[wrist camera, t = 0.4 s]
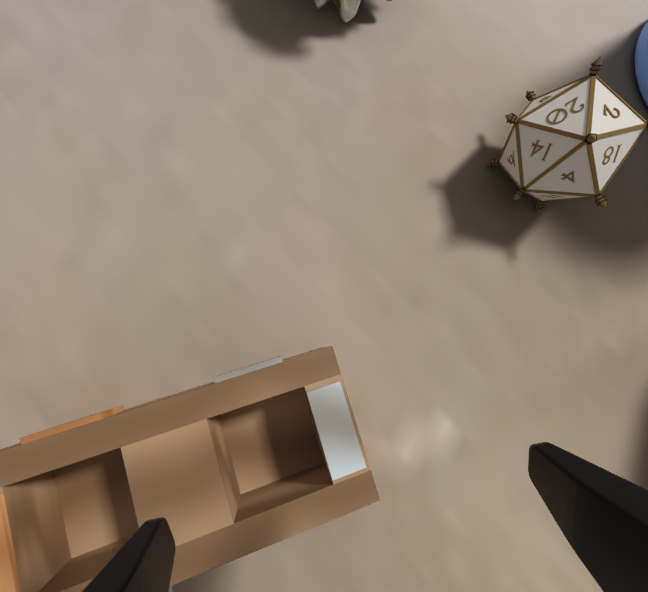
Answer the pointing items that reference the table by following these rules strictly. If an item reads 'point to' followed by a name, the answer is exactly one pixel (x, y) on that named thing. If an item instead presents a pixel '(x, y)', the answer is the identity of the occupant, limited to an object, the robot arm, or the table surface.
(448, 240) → the table surface
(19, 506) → the socket strip
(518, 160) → the game die
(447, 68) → the table surface
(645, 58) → the water jug
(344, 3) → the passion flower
